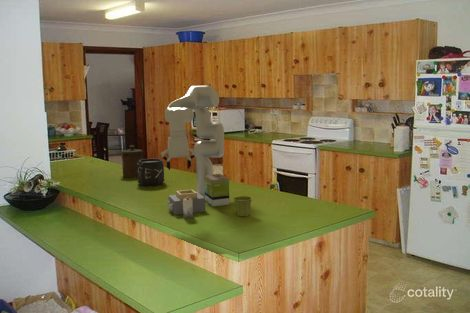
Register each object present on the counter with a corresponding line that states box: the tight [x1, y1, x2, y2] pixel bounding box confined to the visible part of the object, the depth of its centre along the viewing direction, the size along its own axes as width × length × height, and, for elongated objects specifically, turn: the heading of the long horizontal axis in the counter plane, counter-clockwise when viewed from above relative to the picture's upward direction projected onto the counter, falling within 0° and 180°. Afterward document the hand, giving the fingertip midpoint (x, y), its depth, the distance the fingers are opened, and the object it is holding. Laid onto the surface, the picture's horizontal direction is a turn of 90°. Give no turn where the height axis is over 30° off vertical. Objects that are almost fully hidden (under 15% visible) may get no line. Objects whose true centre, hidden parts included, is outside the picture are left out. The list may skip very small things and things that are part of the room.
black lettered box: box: [137, 158, 165, 188], centre depth 328 cm, size 18×18×16 cm
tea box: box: [204, 173, 231, 207], centre depth 275 cm, size 15×10×15 cm, turn 21°
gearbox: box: [166, 189, 206, 216], centre depth 261 cm, size 18×14×10 cm
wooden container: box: [121, 144, 144, 178], centre depth 359 cm, size 15×15×22 cm
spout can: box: [182, 197, 194, 219], centre depth 247 cm, size 5×5×10 cm
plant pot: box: [233, 195, 253, 217], centre depth 248 cm, size 9×9×9 cm
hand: (179, 168), depth 248 cm, fingers open, 9 cm apart
